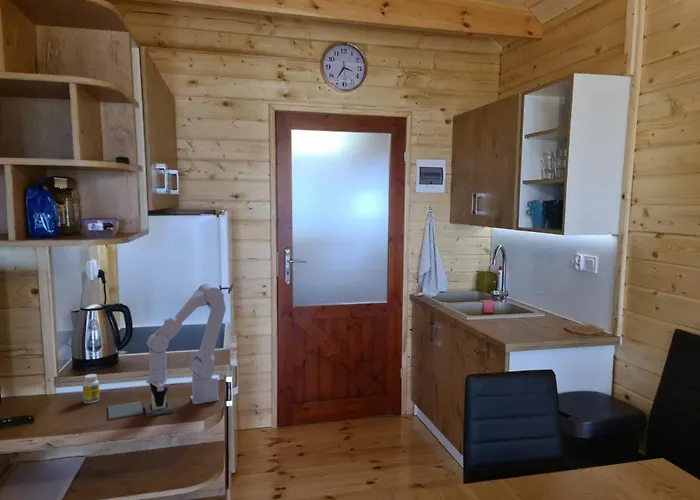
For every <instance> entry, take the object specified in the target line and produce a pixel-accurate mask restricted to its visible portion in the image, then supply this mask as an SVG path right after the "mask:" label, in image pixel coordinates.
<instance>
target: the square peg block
mask: <svg viewBox="0 0 700 500" xmlns="http://www.w3.org/2000/svg"><path fill="white" fill-rule="evenodd" d="M150 392H151V402H152V408H151V409H152V410H157V409H163V408H167V405H166V400H167V395H166V394H167V393H166V394H165V397H164V403H163V406H159V407H157V406H156V403H155V398H154V395H153V393H152V391H151V390H150Z"/></svg>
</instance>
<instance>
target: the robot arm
mask: <svg viewBox="0 0 700 500" xmlns="http://www.w3.org/2000/svg"><path fill="white" fill-rule="evenodd" d="M206 306H207V307H208V308H209V310H210V311H209V316H208V318H207V322H206V325H205V329H204V332H203V336H202V339H201V343H200V347H199V350H198V351H197V352H195V354H194V357H193V359H191V361H190V364H189V370H191V372H192V377H191V378H192V379H191V380H192V381H191V382H192V387H191V388H192V389H191V390H192V395H190V396H189V398H190V400H191V402H192V405H198V404H204V403H211V402H217V401H219V400H220V397H219V395H220V393H219V392H220V391H219V379H218V375H217V374H214V373H215V357H214V352H215V348H216V346H217V345H216V344H217V343H218V342H217V341H218V339H219V334H220V331H221V327H222V324H223V320H224V316H225V313H226V308H227V307H226V303H225V294H224V293H223V291H221V289H220V288H218V287H217V286H213V285H211V284H208V283H203V284H201V285H200V286H199V287H198V288H197V289H196V290H195V291H194V292H193V293H192V295H191V297H190V298H189V299H188V301H187V302H186V303H185V304H184V305H183V306H182V308H181V309H179V311H178V312H177V314H176V315H175V316H171V317H169V318H168V319H167V318H166V319H165V320H164V321H163V324H162V325H161V326H160V327H159V328H158V329H156V330H155V331H154V333H152V334H151V335H150V336H148V338H147V341H145V342H146V346H147V347H148V348H149V349H148V351H149V353H148V354H149V355H148V364H149V366H148V367H149V379H146V382H145V383H146V384H149V387H150V392H151V391H152V392H151V394H152V393H153V395H154V398H155V403H156V406H157V407H159V406H163V403H164V397H165V394H167V391H168V389H169V388H168V386H165V384H166V382H168V377H167V374H168V373H167V351H166V350H167V349H168V347H169V343H170V342H171V340H172V339H173V338H174V337H175V336H176V335H177V334H178V333H179V331H180V330H181V329H182V328H183V322H184V321H186V320H187V319H188V318H189V316H191V315H192V313H193V312H194V311H196V310H197V308H199V307H200V308H201V307H206Z"/></svg>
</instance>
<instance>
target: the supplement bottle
mask: <svg viewBox="0 0 700 500" xmlns="http://www.w3.org/2000/svg"><path fill="white" fill-rule="evenodd" d="M97 376H98V375H97V373H89V374H86V375H85V376H84V382H83V383H82V401H83V402H82V403H85V404H93V403H96V402H98V401H100V381H99V380H98V377H97Z"/></svg>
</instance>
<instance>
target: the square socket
mask: <svg viewBox="0 0 700 500" xmlns="http://www.w3.org/2000/svg"><path fill="white" fill-rule="evenodd" d="M151 409H152V401H150V402H145V403H144V411H145V415H146V418H149V417H156V416H161V415H165V414H167V415H168V414H172V413H174V412H175V411H174V406H173V402H172V400H171V398H170V399H166V408H163V409H157V410H151Z"/></svg>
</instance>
